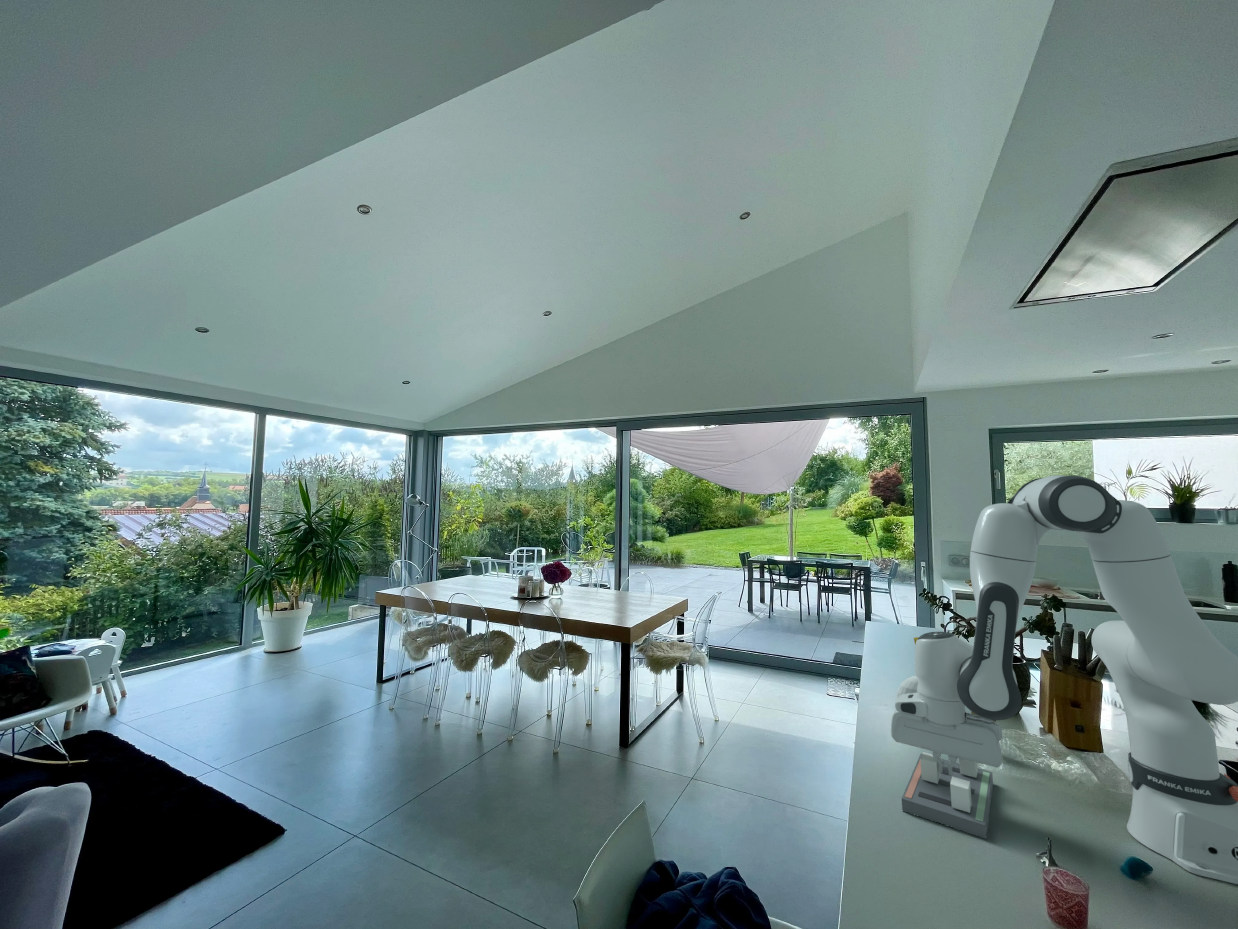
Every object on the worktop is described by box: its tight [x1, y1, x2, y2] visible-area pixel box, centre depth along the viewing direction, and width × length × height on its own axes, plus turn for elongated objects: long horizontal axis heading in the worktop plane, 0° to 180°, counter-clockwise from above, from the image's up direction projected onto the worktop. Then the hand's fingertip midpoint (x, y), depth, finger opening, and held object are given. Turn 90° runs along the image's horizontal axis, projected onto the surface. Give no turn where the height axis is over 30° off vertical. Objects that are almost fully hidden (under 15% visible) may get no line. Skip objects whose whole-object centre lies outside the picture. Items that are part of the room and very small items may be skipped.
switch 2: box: [950, 776, 972, 813], centre depth 99 cm, size 3×4×4 cm
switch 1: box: [958, 758, 979, 778], centre depth 111 cm, size 3×4×4 cm
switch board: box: [901, 753, 994, 840], centre depth 106 cm, size 14×24×3 cm, turn 140°
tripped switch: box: [920, 751, 940, 784], centre depth 109 cm, size 3×4×4 cm
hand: (946, 773), depth 107 cm, fingers closed
